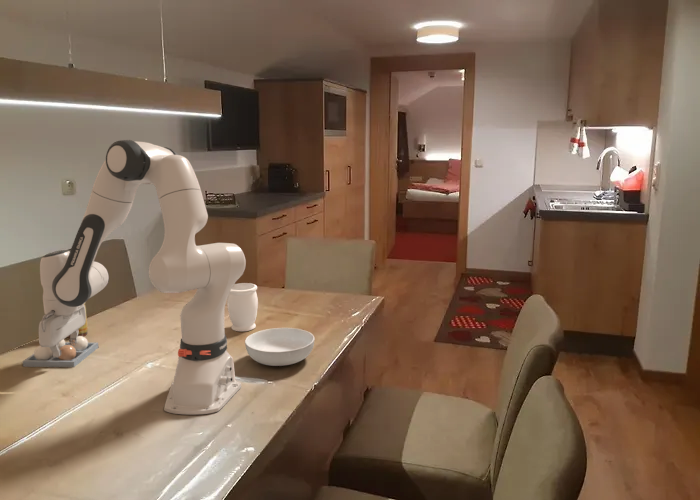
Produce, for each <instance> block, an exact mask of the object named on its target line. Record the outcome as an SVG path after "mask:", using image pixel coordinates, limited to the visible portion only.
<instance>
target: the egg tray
mask: <svg viewBox="0 0 700 500" xmlns="http://www.w3.org/2000/svg"><path fill="white" fill-rule="evenodd" d="M69 343H70V342H69V341H67V342H66V341H65V345H70V344H69ZM98 348H99V342H89V341H88V346H87V348H86V349H85V350H84V351H76V356H75V358H74V359H73V360H71V361H61V360H60V359H59V358H58V357H53V355H52V357H51V358H50V359H49V360H37V359H36V358H35V356H34V353H32V354H31V355H30V356H28V357H27V358H25V359H24V360H22V367H28V368H31V367H32V368H33V367H35V368H38V367H39V368H42V367H43V368H47V367H48V368H76V366H77V365H79V364H80V363H81V362H82V361H84V360H85V359H86V358H87V357H89V356H90V355H92V354H93V353H94V352H95V351H96V350H98Z"/></svg>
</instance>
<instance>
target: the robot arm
mask: <svg viewBox="0 0 700 500" xmlns="http://www.w3.org/2000/svg"><path fill="white" fill-rule="evenodd" d="M92 185H93V186H92V189H91V191H90V192H91V193H90V196H89V199H88V203H87V206H86V209H85V212H84V214H83V217H82V220H81V223H80V226H79V228H78V229H77V232H76V234H75V238H74V241H73V243H72V245H71V249H70V250H65V249H63V250H56V251H53V252H49V253H46V254H45V255H43V256H42V257H41V259H40V263H39V275H40V276H39V277H40V284H41V287H42V290H43V293H42V303H43V312H44V315H42V319H41V320H40V321H39V324H38V343H39V346H40V345H41V347H49V348H50V349H51V350H52V352H53V357H59V356H60V355H61V354H62V353H61V350H59V348H58V346H59V342H60V341H62V340H63V339H64V340H65V339H66V338H67V337H68V336H69V335H70V334H71V336H70V338H69V339H68V342H70V343H69V344H70V345H75V344H77V337H78V333H79V328H80V327H82V326H83V325H84V324H85V321H86V315H87V310H86V311H85V305H84V303H85V304H86V302H88V300H89V299H90V298H92V297H94V296H96V295H97V294H98V293H99V292H101V291H102V290H103V289H105V288H106V287H107V285H108V283H109V281H110V275H109V271H108V269H107V267H106V266H104V265H103V264H102V263H101V262H99V261H95V259H96V257H97V254H98V251H99V249H100V247H101V245H102V243H103V242H104V241H105V239H106V238H107V237H108V236H109V235H111V234H112V233H113V232H114V231H115V230H116V229H118V228H119V227H120V226H121V225H123V224H124V223H125V221H126V220H127V218H128V215H129V213H130V211H131V210H132V208H133V204H134V200H135V197H136V193H137V190H138V188H139V186H140V185H151V186H152V185H154V188H155V190H156V193H157V199H158V203H159V207H160V210H161V214H162V215H161V216H162V219H163V226H164V235H163V236H164V237H163V242H162V244H161V247H160V248H159V250H158V251H157V252H156V254H155V255H154V256H153V258H152V259H151V261H150V263H149V265H148V266H149V267H148V277H149V280H150V282H151V284H152V286H154V288H155V289H156V290H157V291H158V292H160V293H163V294H164V293H165V294H166V293H167V294H168V293H171V294H173V293H176V294H177V293H185V292H190V291H193V290H194V291H195V290H196V292H195V294H194V295H193V297H192V298H191V299H190V300H189V301H187V303H185V305H184V306H183V307H182V309H181V311H180V315H179V316H180V329H181V338H180V343H179V349H178V350H177V356H178V358H177V359H178V360H177V365H176V368H175V374H174V377H173V378H174V379H173V381H172V383H171V385H170V389H169V392H168V394H167V397H166V400H165V402H164V407H163V410H164V411H165V412H167V413H170V414H173V415H174V414H176V415H187V416H189V415H191V416H192V415H196V416H197V415H206V414H207V415H208V414H213V413H216V412H217V413H218V412H220V411H221V409H222V408H223V407H224V406H225V405H226V404H227V403H228V402H229V401H230V400H231V398H233V396H234V395H236V394H237V393H238V391H239V390H240V389H241V388H242V383H241V381H239V380H236V375H235V374H236V373H235V364H234V358H233V356H232V355H230V353H229V352H228V351H227V349H228V338H227V334H225V333H226V332H225V307H226V305H227V297H228V295H229V292H230V290H231V288H232V287H233V285H234V284H236V282H237V281H238V280H239V279H240V278H241V277H242V276H243V275H244V272H245V269H246V263H247V260H246V257H245V254H244V251H243V249H242V248H241V247H240V246H239V245H237V244H236V243H232V242H231V243H229V242H215V243H208V244H202V245H197V244H196V237H195V236H196V234H197V233H199V232H200V231H201V230H202V229H204V228H205V226H207V225H206V224H207V222H208V218H209V214H208V211H207V207H206V203H205V200H204V197H203V192H202V189H201V186H200V183H199V179H198V178H197V175H196V173H195V170H194V167H193V166H192V164H191V162H190V160H188V158H186V157H185V156H183V155H180V154H179V153H178V152H177V151H175V150H174V149H172V148H170V147H165V146H160V145H156V144H153V143H151V142H147V141H139V140H138V141H137V140H131V139H120V140H116V141H114V142H113V143H112V144H110V145H109V147H108V149H107V151H106V154H105V160H104V161H103V163H102V165H101V167H100V169H99V170H98V173H97V175H96V177H95V180H94V182H93V184H92Z"/></svg>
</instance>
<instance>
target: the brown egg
mask: <svg viewBox="0 0 700 500" xmlns="http://www.w3.org/2000/svg"><path fill="white" fill-rule="evenodd" d="M59 350H61V353H62V354H61V355H60V356H59V357H58V358H59V359H60V360H61V361H71V360H73V359H74V358H75V356H76V349H75V348H74V347H73V346H71V345H64V346H62V347H61V348H60V349H59Z"/></svg>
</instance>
